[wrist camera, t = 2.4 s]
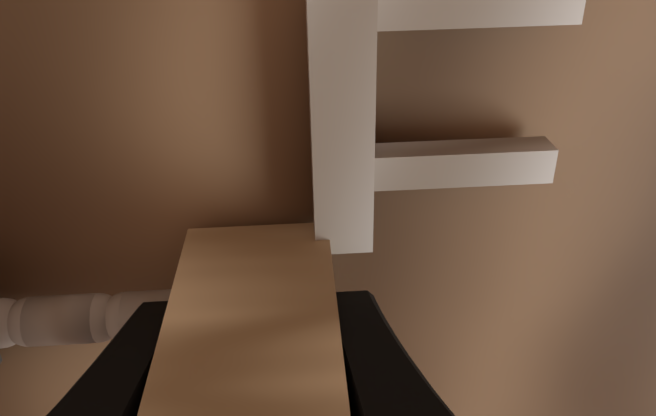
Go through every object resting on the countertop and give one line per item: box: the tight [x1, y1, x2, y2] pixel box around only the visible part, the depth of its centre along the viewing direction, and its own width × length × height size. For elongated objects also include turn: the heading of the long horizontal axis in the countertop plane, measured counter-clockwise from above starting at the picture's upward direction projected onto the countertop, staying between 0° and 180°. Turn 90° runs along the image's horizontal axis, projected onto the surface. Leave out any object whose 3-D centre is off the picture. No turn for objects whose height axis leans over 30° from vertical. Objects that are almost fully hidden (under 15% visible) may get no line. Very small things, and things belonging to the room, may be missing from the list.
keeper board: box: [0, 0, 656, 416], centre depth 11 cm, size 24×12×4 cm, turn 91°
